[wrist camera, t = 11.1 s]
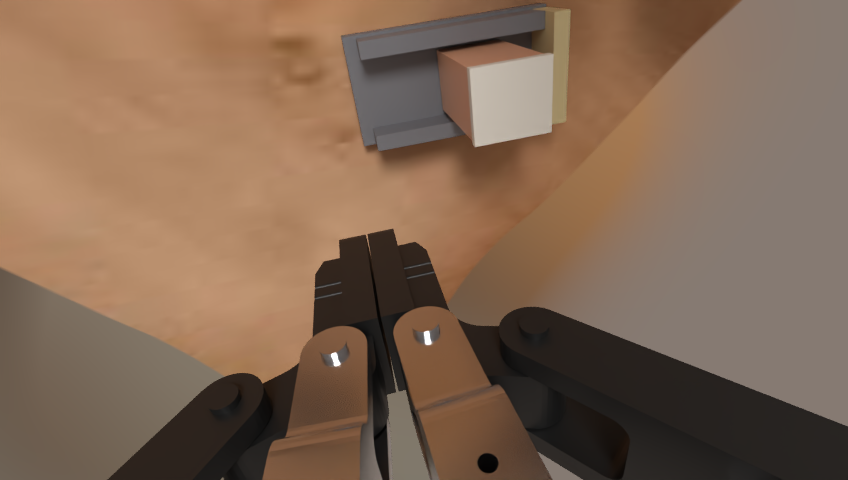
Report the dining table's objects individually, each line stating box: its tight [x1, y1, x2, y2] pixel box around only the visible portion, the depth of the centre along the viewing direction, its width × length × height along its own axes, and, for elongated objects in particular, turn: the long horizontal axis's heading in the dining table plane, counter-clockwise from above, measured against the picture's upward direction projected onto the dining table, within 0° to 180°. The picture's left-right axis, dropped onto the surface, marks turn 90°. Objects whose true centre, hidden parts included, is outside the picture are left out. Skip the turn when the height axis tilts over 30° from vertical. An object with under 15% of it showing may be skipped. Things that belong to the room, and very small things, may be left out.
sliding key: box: [437, 39, 554, 147], centre depth 31 cm, size 5×5×10 cm
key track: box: [341, 3, 571, 151], centre depth 34 cm, size 16×8×6 cm, turn 98°
